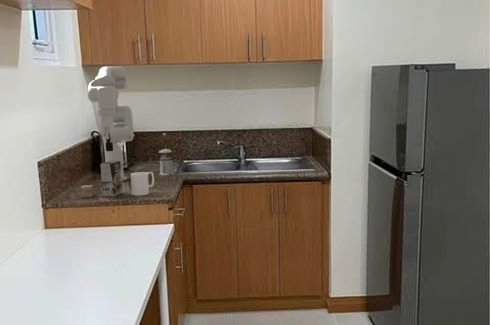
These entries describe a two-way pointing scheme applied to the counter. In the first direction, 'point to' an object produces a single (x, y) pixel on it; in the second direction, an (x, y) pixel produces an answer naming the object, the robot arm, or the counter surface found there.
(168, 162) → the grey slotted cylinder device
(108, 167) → the coffee box
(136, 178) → the cup
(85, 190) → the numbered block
